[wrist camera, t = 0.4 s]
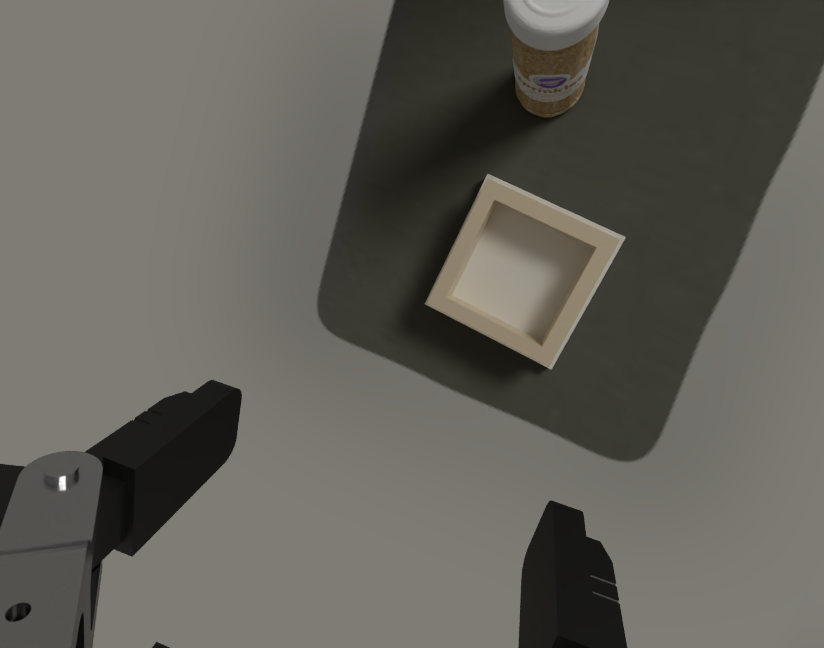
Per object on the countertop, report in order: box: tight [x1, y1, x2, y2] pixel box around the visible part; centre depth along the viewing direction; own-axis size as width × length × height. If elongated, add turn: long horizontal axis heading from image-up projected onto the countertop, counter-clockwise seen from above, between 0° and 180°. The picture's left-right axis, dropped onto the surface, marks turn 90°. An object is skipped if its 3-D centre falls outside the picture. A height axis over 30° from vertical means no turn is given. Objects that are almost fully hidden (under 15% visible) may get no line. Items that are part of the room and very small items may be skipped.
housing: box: [425, 174, 626, 369], centre depth 34 cm, size 10×10×4 cm
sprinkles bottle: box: [504, 0, 609, 117], centre depth 27 cm, size 5×5×14 cm
